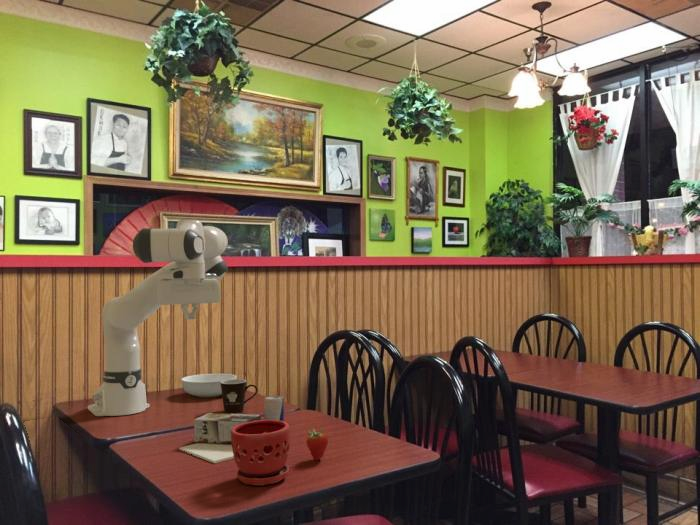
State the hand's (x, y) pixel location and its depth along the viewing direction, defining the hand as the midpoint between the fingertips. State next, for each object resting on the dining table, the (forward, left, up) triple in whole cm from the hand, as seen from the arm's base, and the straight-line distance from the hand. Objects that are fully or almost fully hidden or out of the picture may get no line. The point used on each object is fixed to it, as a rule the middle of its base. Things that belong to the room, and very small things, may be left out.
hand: (190, 319), depth 181 cm
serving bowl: (-40, +31, -33) cm, 61 cm away
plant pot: (+52, -13, -33) cm, 63 cm away
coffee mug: (-8, +22, -33) cm, 41 cm away
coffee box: (+14, -5, -29) cm, 33 cm away
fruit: (+51, +5, -33) cm, 61 cm away
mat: (+26, -7, -33) cm, 42 cm away
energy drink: (+30, +8, -33) cm, 45 cm away
